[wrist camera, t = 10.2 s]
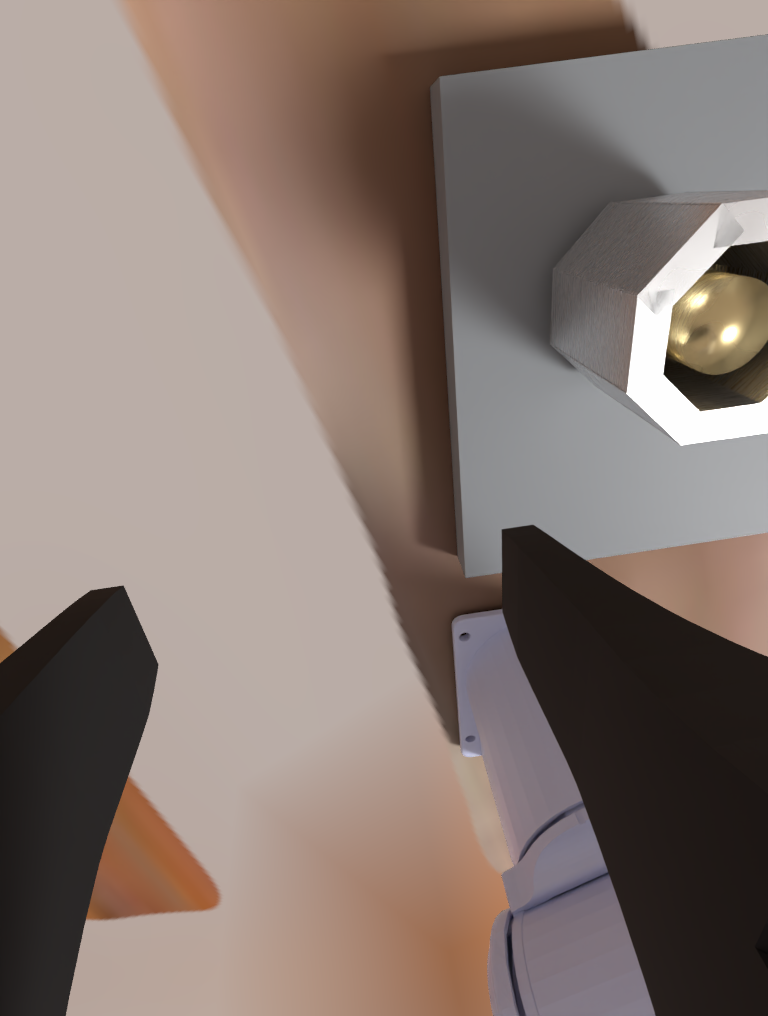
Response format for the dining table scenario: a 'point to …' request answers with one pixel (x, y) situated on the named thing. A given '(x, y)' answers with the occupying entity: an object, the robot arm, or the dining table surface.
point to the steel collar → (662, 308)
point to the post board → (528, 294)
